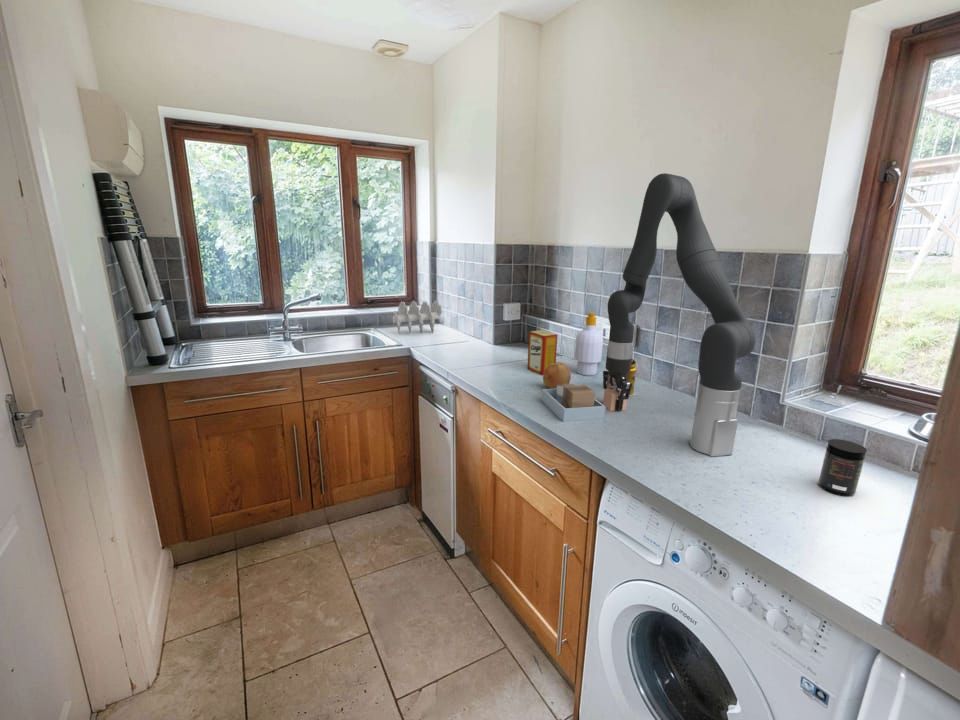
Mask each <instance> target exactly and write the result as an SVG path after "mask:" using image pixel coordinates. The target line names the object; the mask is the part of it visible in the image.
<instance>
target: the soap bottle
mask: <svg viewBox="0 0 960 720" xmlns="http://www.w3.org/2000/svg"><path fill="white" fill-rule="evenodd" d="M587 314H588V316H586V318H585V319H586V320H585V321H586V322H585V329H581V330H580V331H578V333H577V336H576V339H575V349H574V350H575V351H574V359H575V361H577V367H576V371H577V373H578V374H579V375H582V376H594V375H596V374H597V372H598V363H601V361H602V358H603V357H602V356H603V345H604V339H603V335H602V333H601V332H600V331H598V330H596V323H597V317H596V313H595V312H588V313H587Z"/></svg>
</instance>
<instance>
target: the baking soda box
mask: <svg viewBox="0 0 960 720" xmlns="http://www.w3.org/2000/svg"><path fill="white" fill-rule="evenodd" d="M557 348H558V334H557V333H554V332H549V330H544V329H541V330H533V331H532V330H530V331H529V332H528V348H527V349H528V350H527V351H528V352H527V370H528V371H531V372H533V373H535V374H539V375H541V376H543V374H544V371H545V369H546V368H547V367H548V366H549V365H551V364H553V363H556V362H557Z"/></svg>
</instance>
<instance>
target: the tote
mask: <svg viewBox="0 0 960 720" xmlns="http://www.w3.org/2000/svg"><path fill="white" fill-rule="evenodd" d="M556 393H557V388H555V389H549V388H542V390H541V402H542V403H543V404H544V405H545V406H546V407H547V408H548V409H550V411H551V412H553V413H554V414H555V415H556V416H557V417H558V419H560V421H562V422H563V423H566V422H567V423H569V422H583V421H594V420H596V421H597V420H605V418H606V417H605V415H606V406H604V405H603V402H602V403H601V402H600V401H599V400H597V399H596V398H595V399H594V406H593V407H579V408H564V407H563V406H562V405H561V404H560V403H559V402H558V401H557V400H556Z"/></svg>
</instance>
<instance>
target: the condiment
mask: <svg viewBox="0 0 960 720" xmlns="http://www.w3.org/2000/svg"><path fill="white" fill-rule="evenodd" d="M636 364H637V361H636V360H635V359H633V358H632V362H631V370H630V371H629V372H628V373H627V374H626V377H627V381H628V382H632V387H631V391H630V394H629V397H633V396H635V395H639V392H635V391H634V390H635V381H636V372H637V368H636ZM617 389H621V388H617ZM633 392H634V393H636V394H633ZM632 394H633V395H632Z"/></svg>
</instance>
